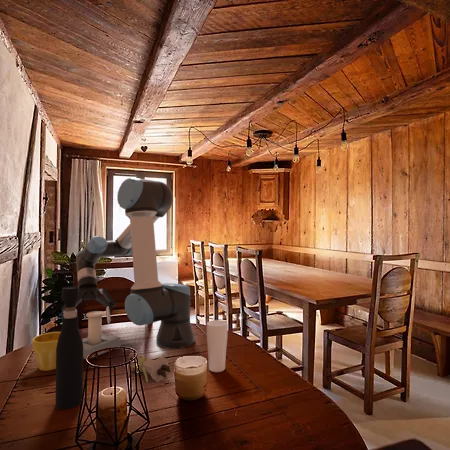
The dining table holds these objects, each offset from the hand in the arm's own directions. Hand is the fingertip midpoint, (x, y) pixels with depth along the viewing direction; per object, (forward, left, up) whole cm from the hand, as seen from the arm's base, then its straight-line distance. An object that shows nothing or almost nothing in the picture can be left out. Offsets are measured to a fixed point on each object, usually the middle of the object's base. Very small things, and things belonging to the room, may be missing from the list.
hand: (91, 324), depth 128 cm
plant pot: (-7, +21, -8) cm, 24 cm away
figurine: (-40, +8, -8) cm, 42 cm away
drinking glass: (-55, -6, -8) cm, 56 cm away
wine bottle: (-33, +31, -8) cm, 46 cm away
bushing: (-8, +5, -7) cm, 12 cm away
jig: (-7, +4, -7) cm, 11 cm away
